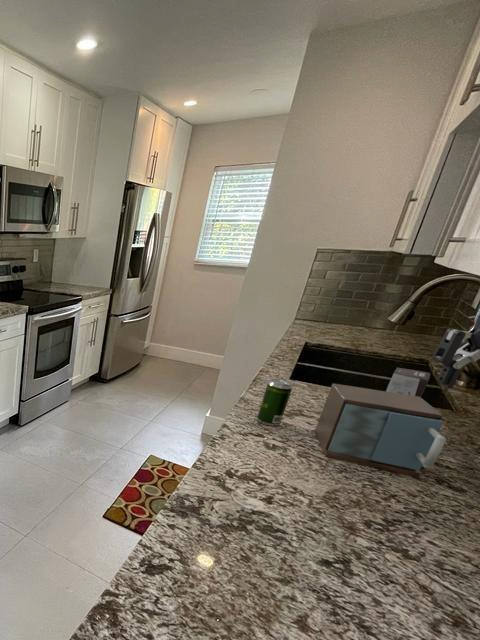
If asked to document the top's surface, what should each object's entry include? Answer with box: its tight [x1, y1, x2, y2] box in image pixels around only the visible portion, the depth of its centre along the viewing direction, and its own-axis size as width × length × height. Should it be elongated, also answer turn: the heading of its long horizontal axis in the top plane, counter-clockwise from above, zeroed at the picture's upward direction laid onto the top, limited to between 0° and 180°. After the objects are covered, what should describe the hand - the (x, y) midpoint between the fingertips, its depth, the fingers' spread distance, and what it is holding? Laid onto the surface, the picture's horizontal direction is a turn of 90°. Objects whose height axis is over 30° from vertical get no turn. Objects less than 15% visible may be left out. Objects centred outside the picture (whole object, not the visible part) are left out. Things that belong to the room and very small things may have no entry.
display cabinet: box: [313, 383, 444, 478], centre depth 95 cm, size 16×14×14 cm
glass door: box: [370, 412, 447, 471], centre depth 86 cm, size 8×6×12 cm
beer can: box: [257, 378, 293, 427], centre depth 111 cm, size 5×5×12 cm
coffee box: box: [385, 367, 431, 398], centre depth 108 cm, size 9×6×16 cm
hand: (475, 389), depth 73 cm, fingers open, 8 cm apart
